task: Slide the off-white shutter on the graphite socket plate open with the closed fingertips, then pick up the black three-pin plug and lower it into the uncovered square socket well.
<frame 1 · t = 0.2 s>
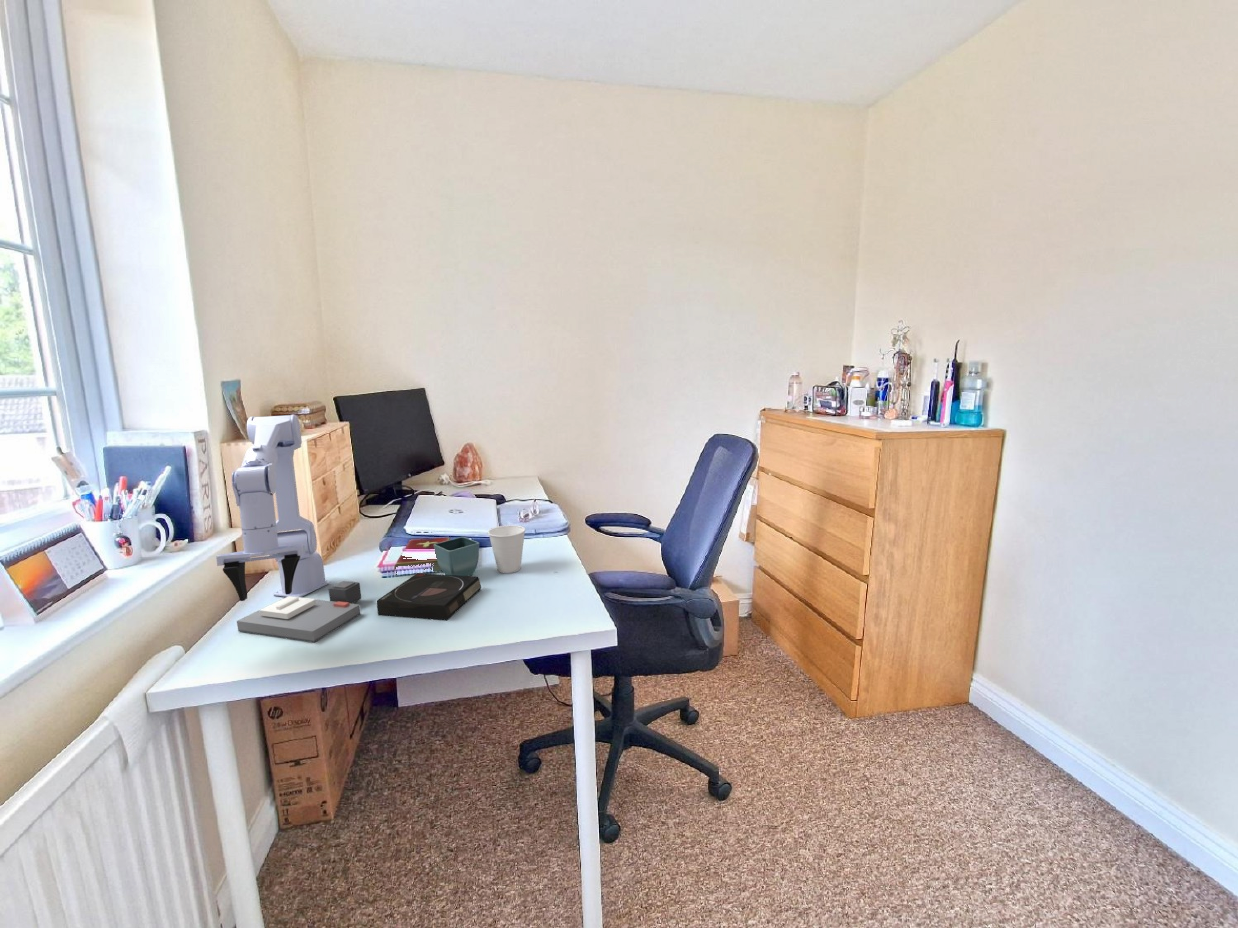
hand: (266, 596, 109), 11 cm above the table, tool pointing down, fingers open, 7 cm apart
shutter: (288, 605, 121), point 4 cm above the table, slide at 0.0 cm
hardcover book: (425, 563, 158), on the table
plug: (346, 604, 130), on the table
socket plate: (301, 622, 121), on the table
flower pot: (459, 576, 146), on the table
cup: (509, 570, 149), on the table
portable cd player: (432, 604, 130), on the table
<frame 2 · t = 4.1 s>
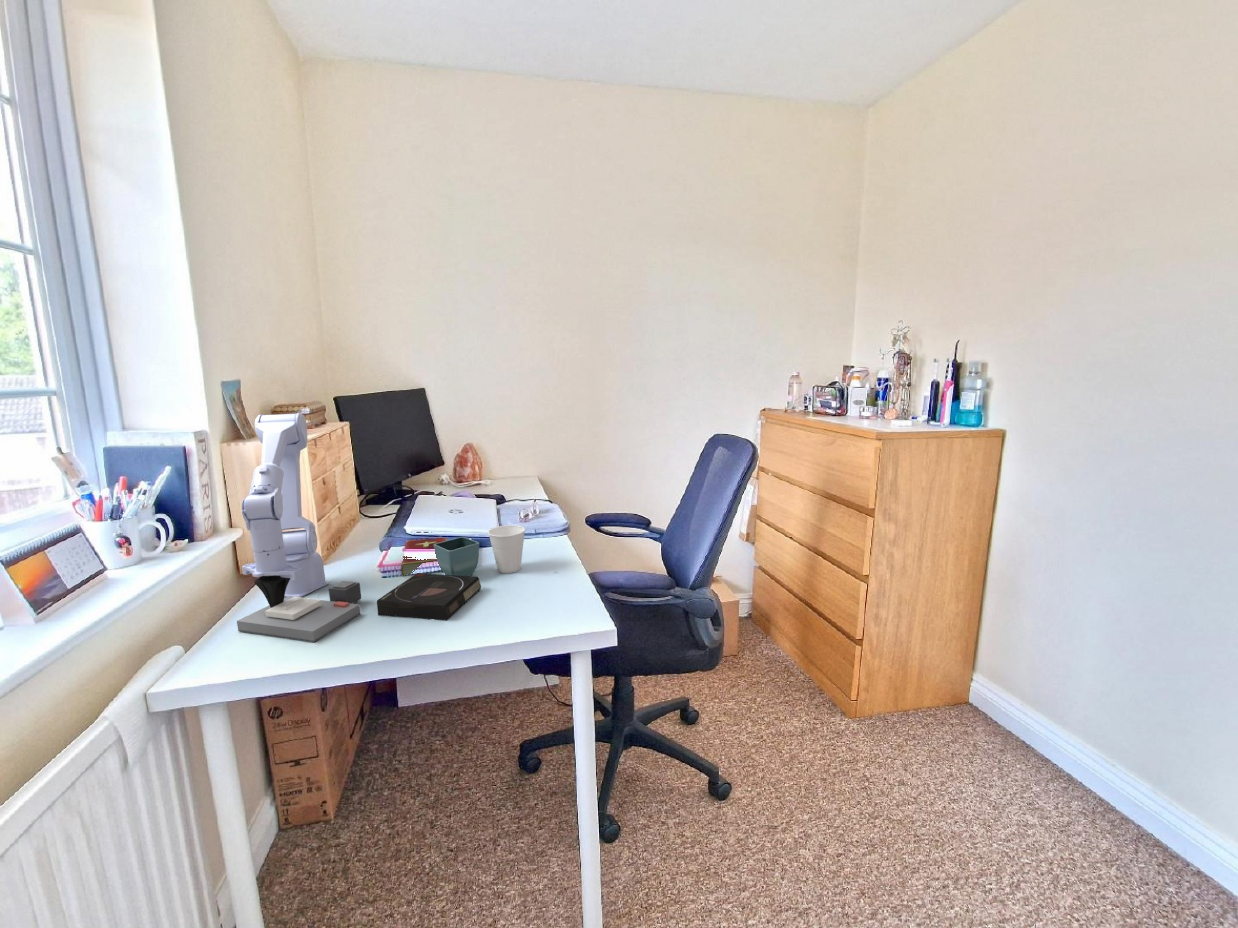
hand: (277, 607, 122), 3 cm above the table, tool pointing down, fingers closed
shutter: (293, 606, 121), point 4 cm above the table, slide at 1.6 cm, touching gripper
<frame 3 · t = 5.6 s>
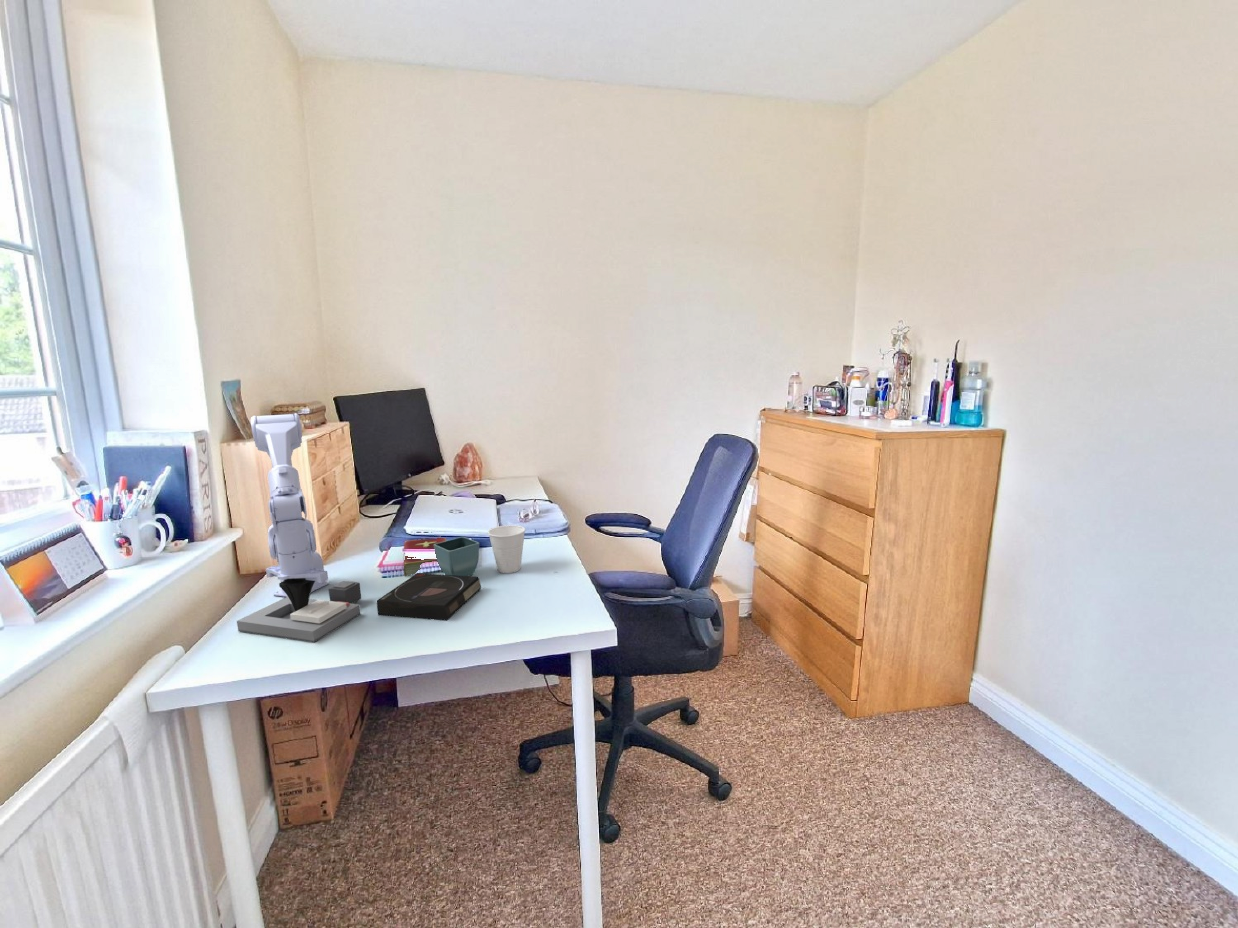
hand: (301, 610, 120), 3 cm above the table, tool pointing down, fingers closed
shutter: (318, 609, 119), point 4 cm above the table, slide at 8.3 cm, touching gripper
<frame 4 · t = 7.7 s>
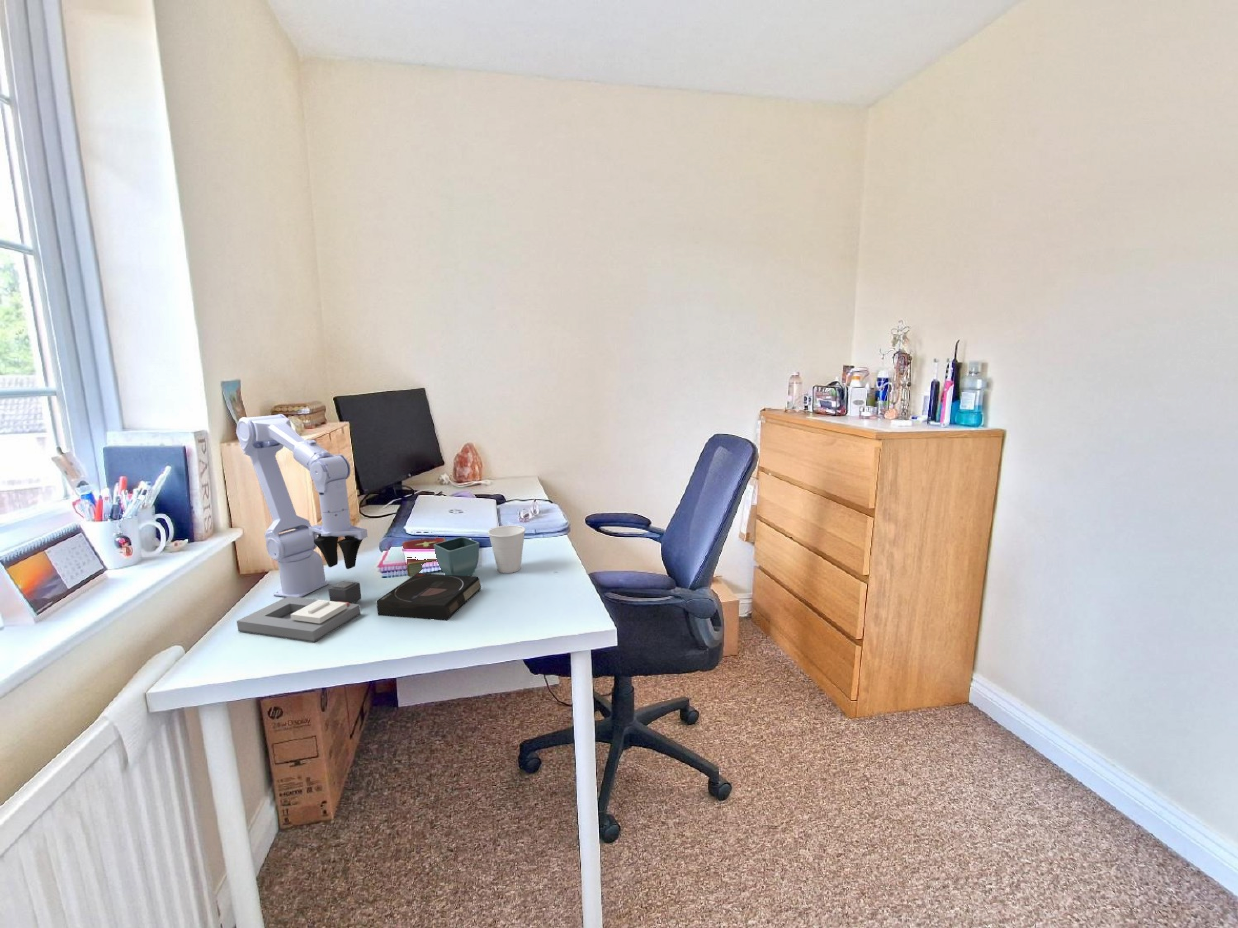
hand: (341, 566, 128), 9 cm above the table, tool pointing down, fingers open, 4 cm apart
shutter: (319, 609, 119), point 4 cm above the table, slide at 8.4 cm
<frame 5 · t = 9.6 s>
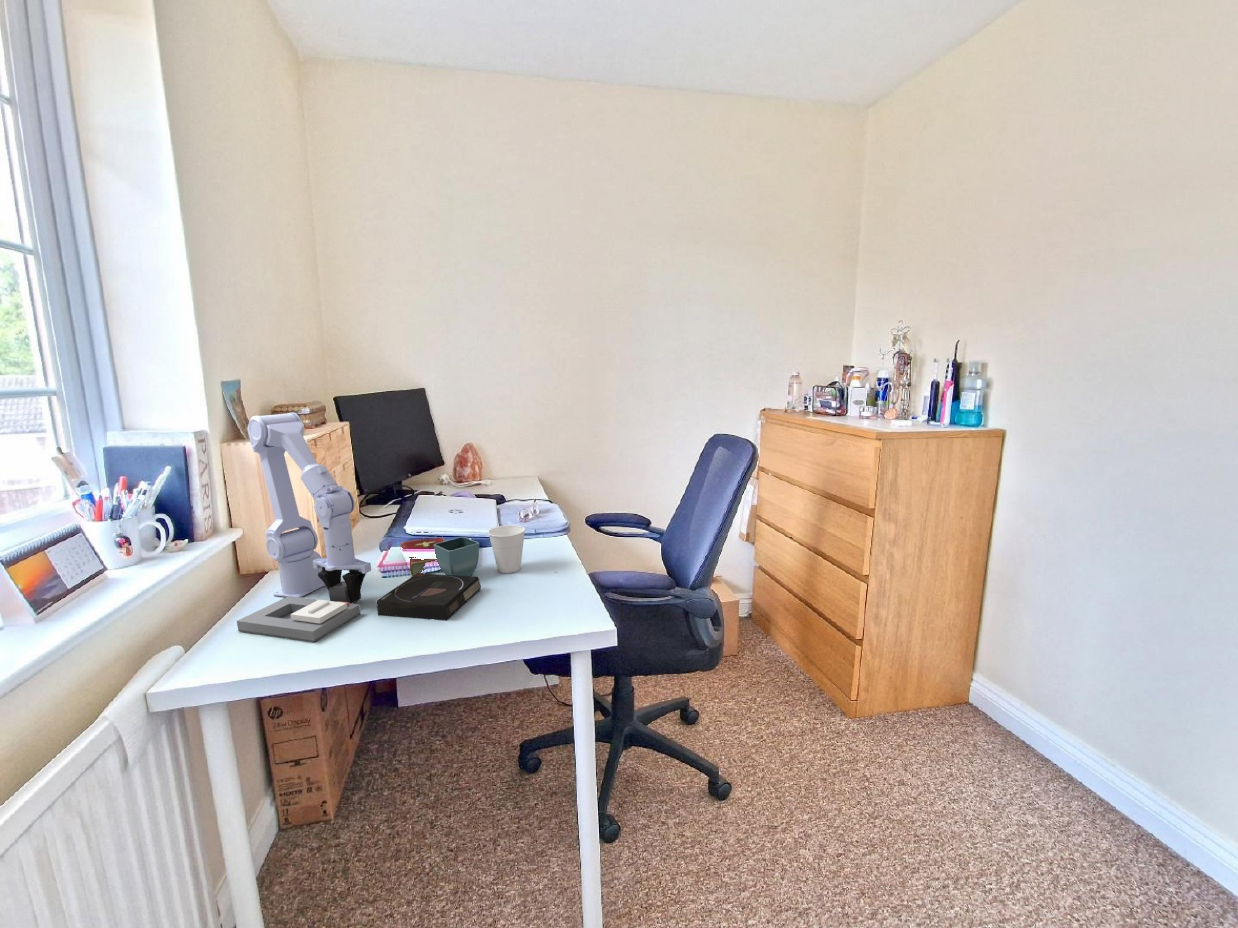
hand: (345, 599, 129), 1 cm above the table, tool pointing down, fingers closed on plug, 5 cm apart
plug: (346, 604, 130), on the table, touching gripper
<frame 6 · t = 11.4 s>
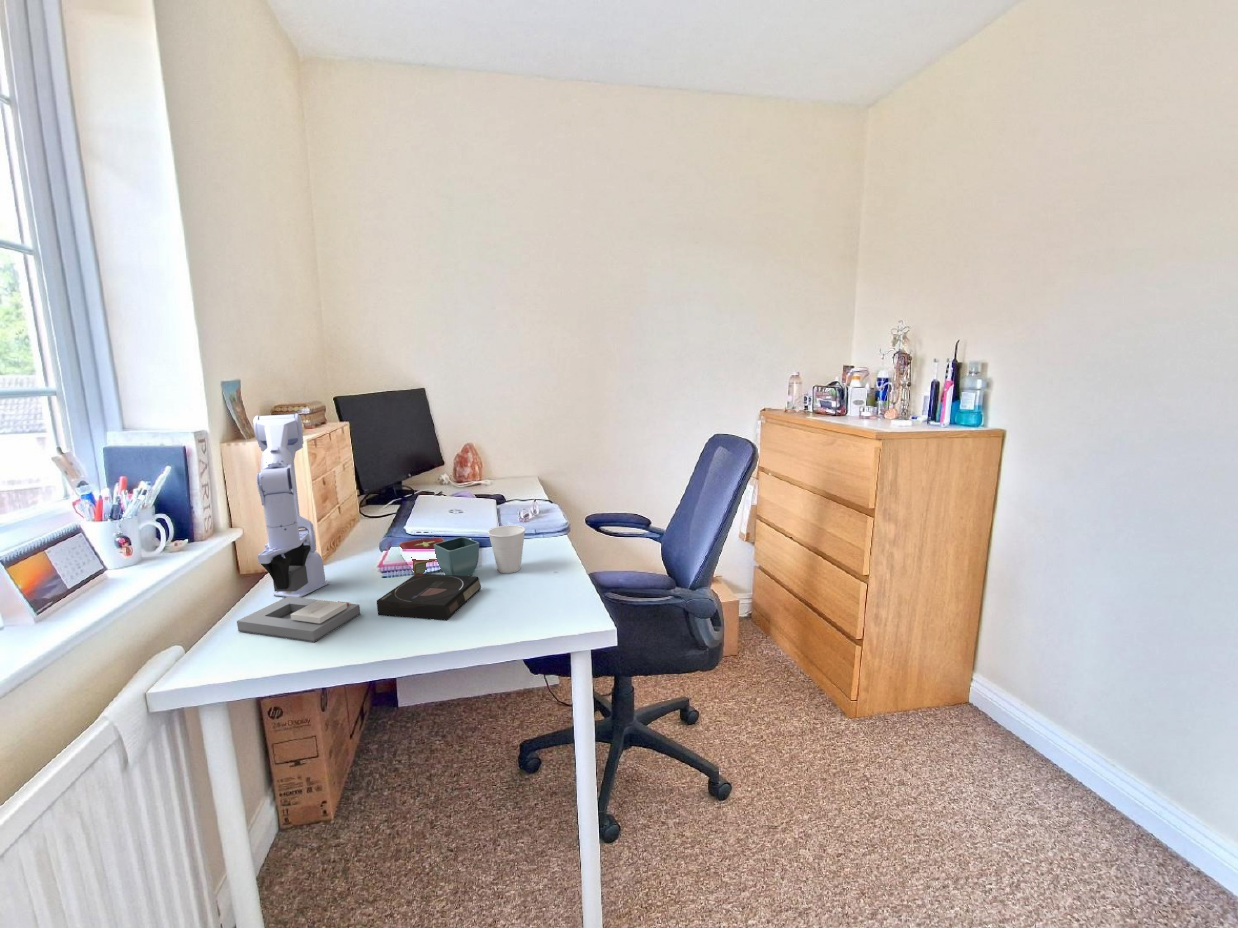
hand: (290, 583, 121), 8 cm above the table, tool pointing down, fingers closed on plug, 5 cm apart
plug: (292, 590, 121), point 7 cm above the table, touching gripper
when the fingers open (3 cm above the table, at t = 13.4 s): plug drops 1 cm, resting on socket plate.
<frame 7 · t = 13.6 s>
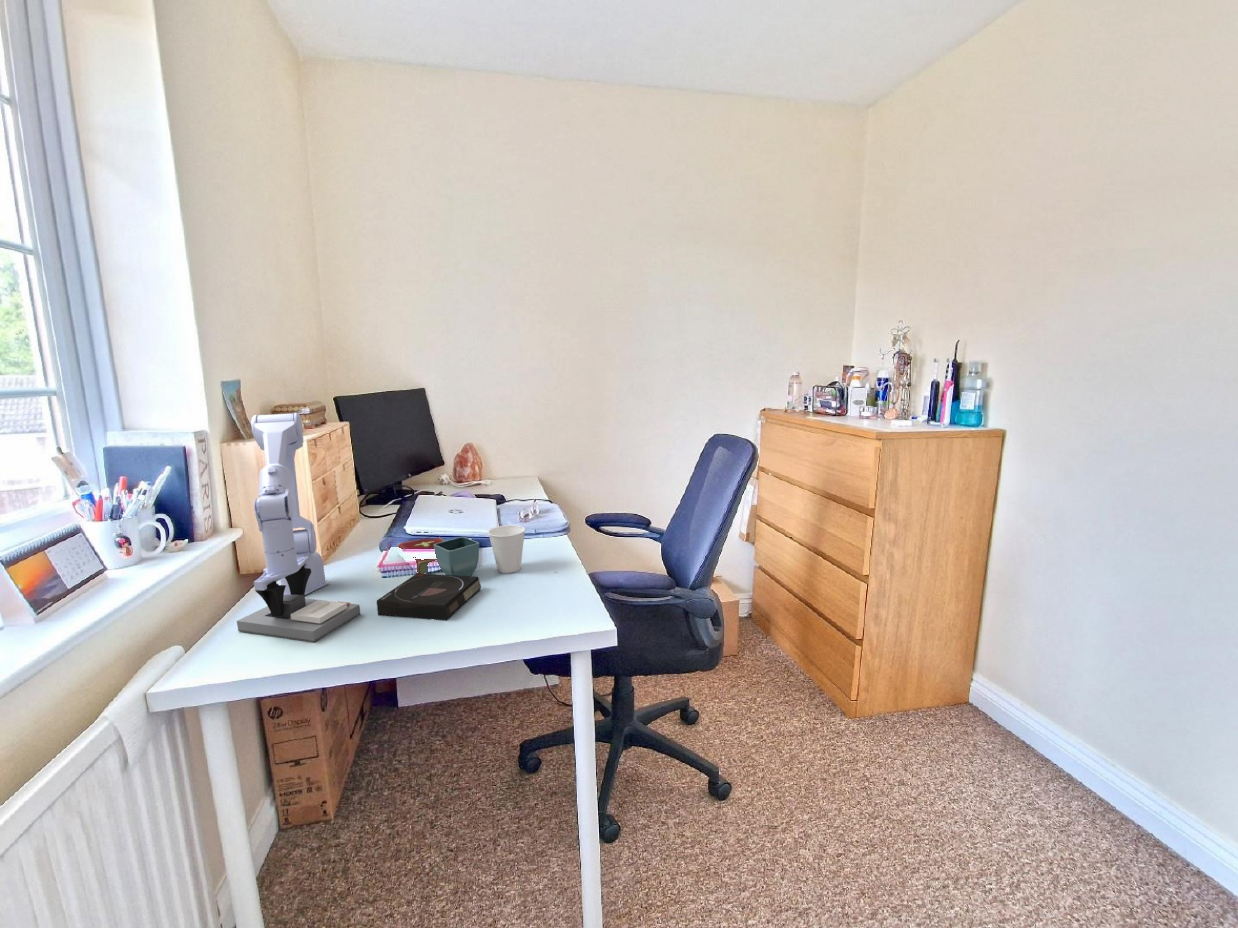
hand: (288, 608, 121), 3 cm above the table, tool pointing down, fingers open, 6 cm apart
plug: (290, 619, 122), resting on socket plate
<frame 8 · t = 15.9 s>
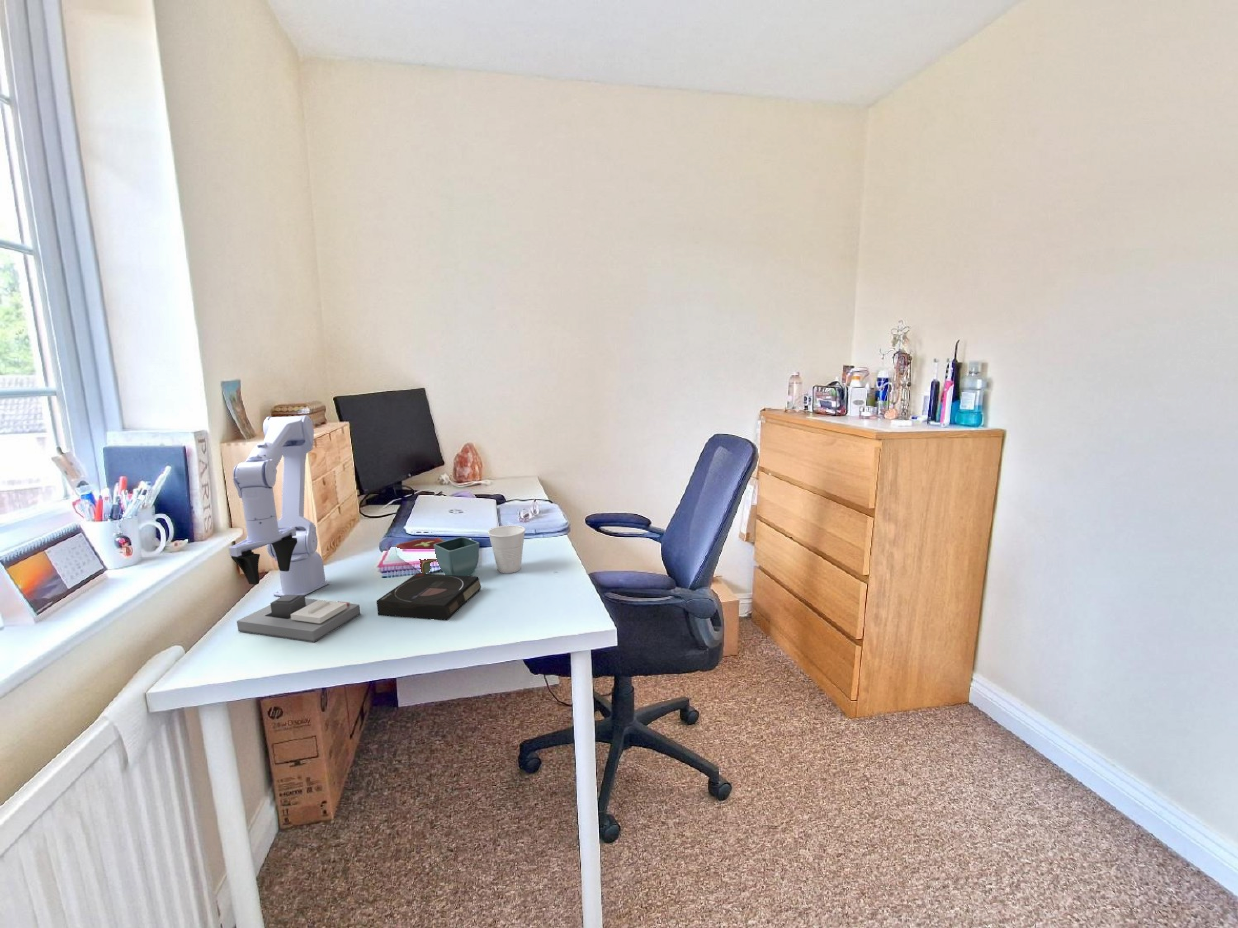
hand: (269, 577, 121), 10 cm above the table, tool pointing down, fingers open, 7 cm apart
at the end: plug 0.1 cm from the target spot on the socket plate, point 0.4 cm above the socket plate's base; plug tilted 0°; shutter slide at 8.4 cm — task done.
